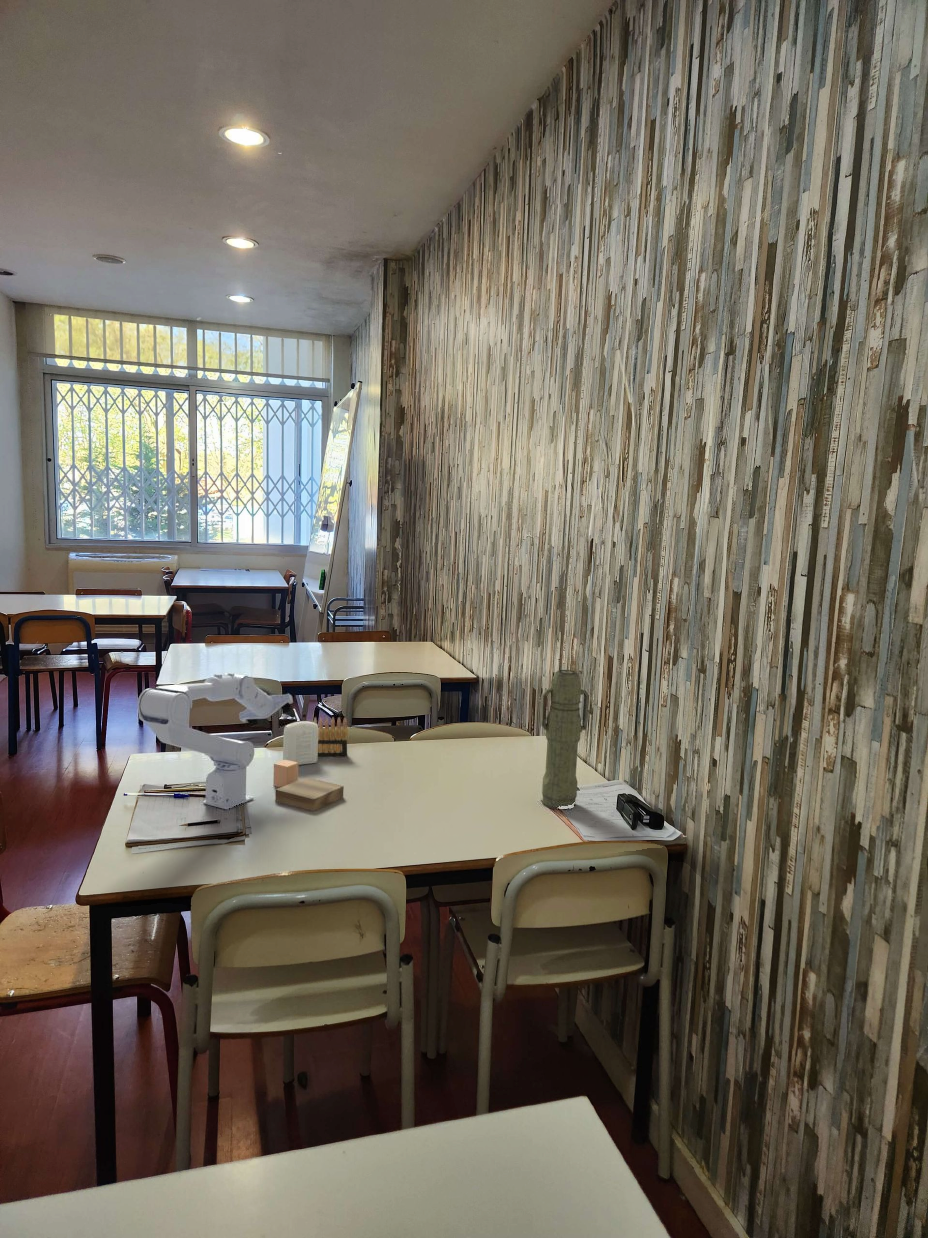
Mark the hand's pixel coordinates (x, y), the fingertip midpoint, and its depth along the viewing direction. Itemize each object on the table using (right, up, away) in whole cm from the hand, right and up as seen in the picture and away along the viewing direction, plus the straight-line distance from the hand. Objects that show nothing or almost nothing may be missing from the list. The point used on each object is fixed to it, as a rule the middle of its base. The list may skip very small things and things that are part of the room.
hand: (280, 719), depth 213 cm
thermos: (+74, -21, -8) cm, 77 cm away
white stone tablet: (+2, -15, +15) cm, 22 cm away
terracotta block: (+2, -17, -4) cm, 18 cm away
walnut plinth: (+10, -18, -14) cm, 25 cm away
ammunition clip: (+9, -14, +24) cm, 29 cm away
